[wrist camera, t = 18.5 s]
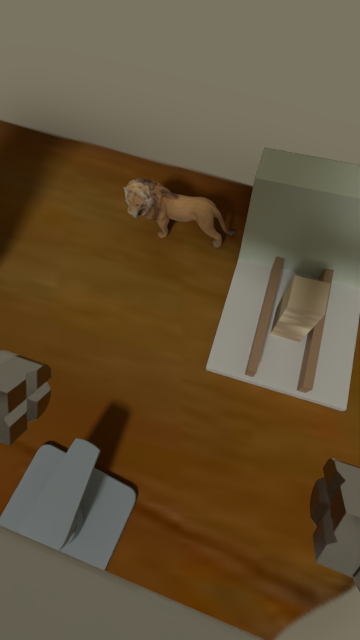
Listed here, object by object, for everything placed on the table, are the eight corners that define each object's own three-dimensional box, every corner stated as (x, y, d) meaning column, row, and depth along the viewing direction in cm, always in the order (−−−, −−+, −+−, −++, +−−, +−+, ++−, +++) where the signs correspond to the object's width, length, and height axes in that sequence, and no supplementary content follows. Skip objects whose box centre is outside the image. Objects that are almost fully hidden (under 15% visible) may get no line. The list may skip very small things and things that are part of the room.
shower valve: (143, 470, 31) (60, 654, 26) (151, 467, 36) (82, 621, 32) (37, 415, 34) (-56, 574, 29) (58, 419, 39) (-18, 556, 34)
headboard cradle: (205, 369, 39) (209, 326, 25) (245, 237, 46) (265, 143, 32) (341, 411, 37) (429, 387, 23) (362, 264, 44) (441, 175, 29)
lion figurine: (131, 244, 47) (116, 199, 39) (137, 214, 49) (124, 165, 40) (234, 250, 46) (242, 205, 37) (236, 219, 47) (243, 170, 39)
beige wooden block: (270, 334, 39) (287, 305, 32) (276, 305, 41) (295, 271, 33) (299, 342, 39) (324, 314, 31) (305, 313, 40) (330, 280, 32)
